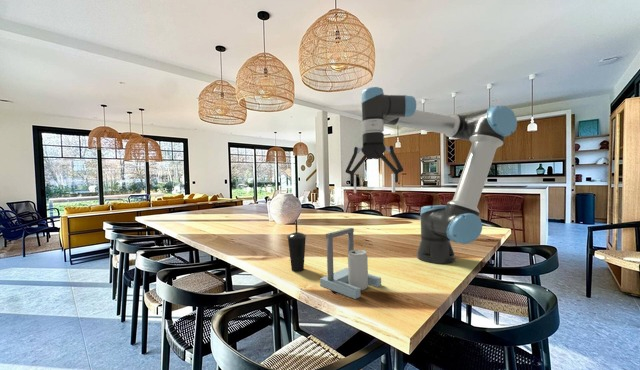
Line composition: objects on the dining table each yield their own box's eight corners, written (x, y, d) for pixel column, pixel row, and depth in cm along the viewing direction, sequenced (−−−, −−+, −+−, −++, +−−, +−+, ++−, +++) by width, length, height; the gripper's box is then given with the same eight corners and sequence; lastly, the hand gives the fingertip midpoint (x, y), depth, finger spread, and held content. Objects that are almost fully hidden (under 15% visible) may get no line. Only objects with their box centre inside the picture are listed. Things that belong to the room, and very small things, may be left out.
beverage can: (347, 284, 93) (346, 249, 93) (365, 283, 94) (364, 248, 93) (350, 292, 87) (349, 255, 86) (370, 291, 87) (369, 254, 87)
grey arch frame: (381, 285, 92) (380, 231, 91) (355, 299, 82) (354, 239, 81) (346, 274, 102) (345, 226, 102) (320, 285, 93) (318, 233, 92)
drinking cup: (310, 267, 111) (309, 218, 110) (301, 274, 104) (299, 221, 103) (294, 265, 114) (292, 217, 113) (284, 271, 107) (282, 220, 107)
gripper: (337, 132, 95) (339, 193, 96) (411, 129, 93) (412, 192, 93) (338, 135, 102) (339, 192, 103) (406, 133, 100) (407, 190, 101)
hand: (374, 192), depth 98 cm, fingers open, 13 cm apart
